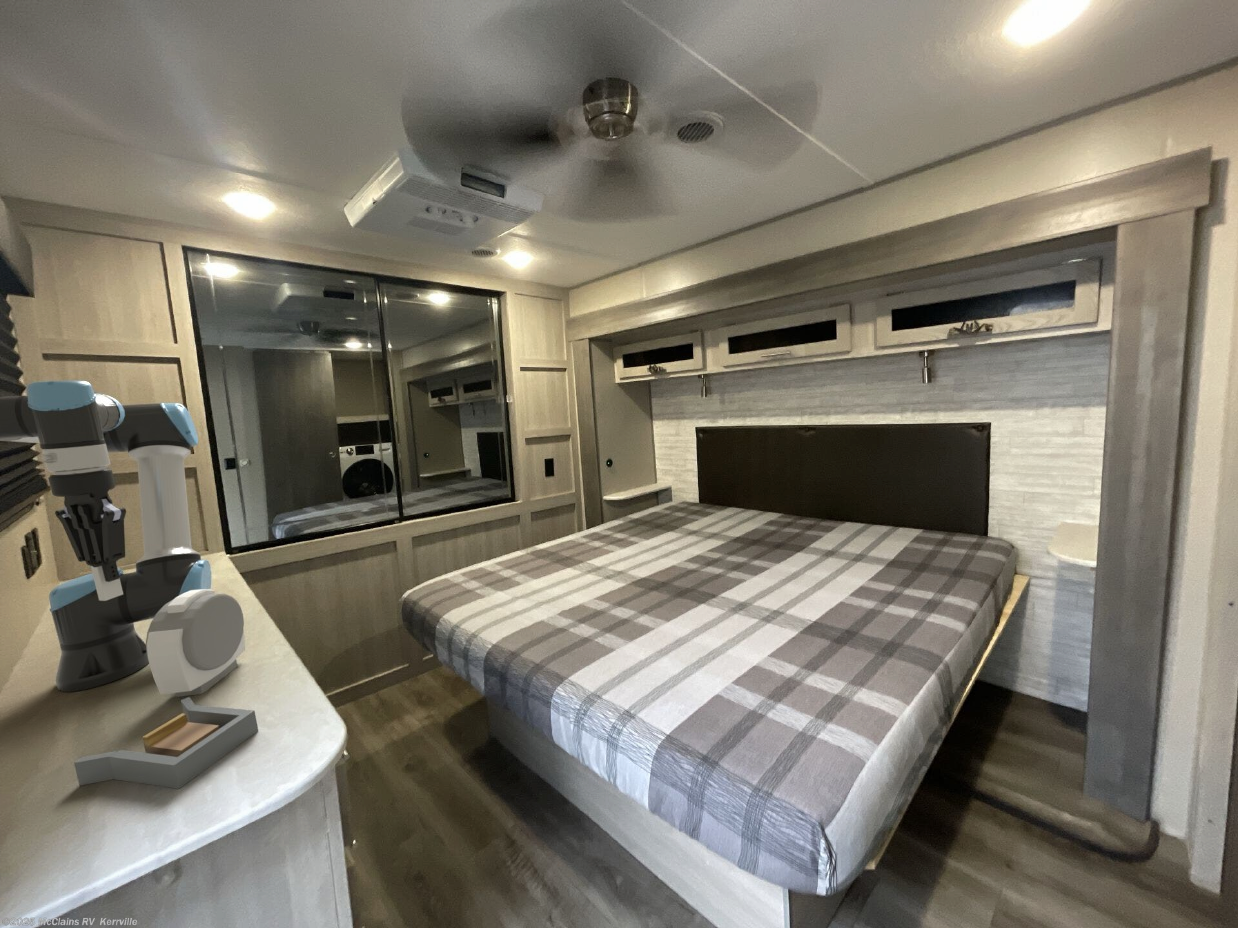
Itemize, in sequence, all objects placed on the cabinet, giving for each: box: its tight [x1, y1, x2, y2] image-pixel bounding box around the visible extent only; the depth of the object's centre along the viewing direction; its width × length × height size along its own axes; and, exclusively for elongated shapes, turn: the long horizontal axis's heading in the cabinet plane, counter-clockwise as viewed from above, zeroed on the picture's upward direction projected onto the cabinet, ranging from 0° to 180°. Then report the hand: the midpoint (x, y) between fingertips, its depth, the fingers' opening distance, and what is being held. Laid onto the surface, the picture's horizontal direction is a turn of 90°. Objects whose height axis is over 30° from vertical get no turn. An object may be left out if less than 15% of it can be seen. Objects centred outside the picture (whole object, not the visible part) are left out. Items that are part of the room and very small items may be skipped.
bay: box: [73, 696, 259, 789], centre depth 82 cm, size 18×17×4 cm
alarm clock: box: [145, 588, 246, 698], centre depth 103 cm, size 18×8×20 cm, turn 5°
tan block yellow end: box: [142, 713, 220, 757], centre depth 82 cm, size 8×6×5 cm
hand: (111, 597), depth 88 cm, fingers closed
